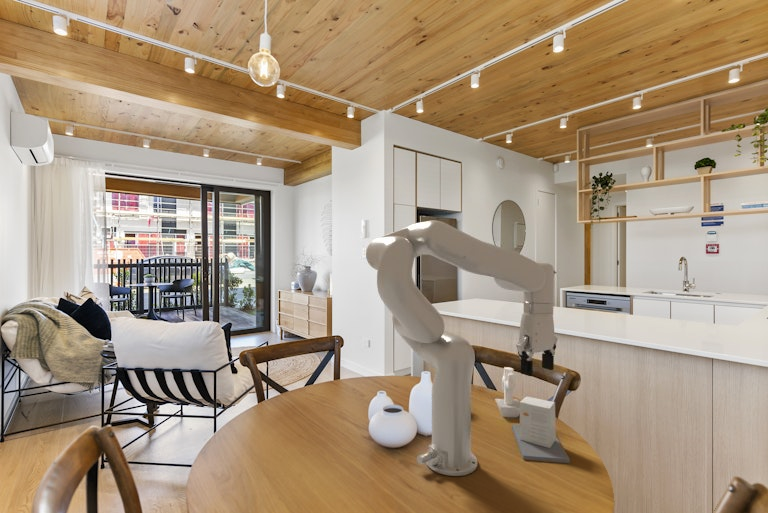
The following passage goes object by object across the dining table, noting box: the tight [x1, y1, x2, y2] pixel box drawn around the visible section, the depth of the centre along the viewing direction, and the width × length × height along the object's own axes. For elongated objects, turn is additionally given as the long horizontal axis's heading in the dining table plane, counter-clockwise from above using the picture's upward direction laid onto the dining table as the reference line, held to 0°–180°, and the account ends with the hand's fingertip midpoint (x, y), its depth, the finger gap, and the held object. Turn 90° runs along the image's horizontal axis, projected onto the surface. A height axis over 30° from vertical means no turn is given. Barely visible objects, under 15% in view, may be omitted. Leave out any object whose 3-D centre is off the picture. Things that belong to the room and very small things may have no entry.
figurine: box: [494, 366, 520, 418], centre depth 126 cm, size 7×9×15 cm
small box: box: [519, 395, 557, 448], centre depth 106 cm, size 8×6×10 cm
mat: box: [511, 424, 571, 464], centre depth 106 cm, size 18×11×1 cm, turn 171°
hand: (537, 371), depth 106 cm, fingers open, 9 cm apart
